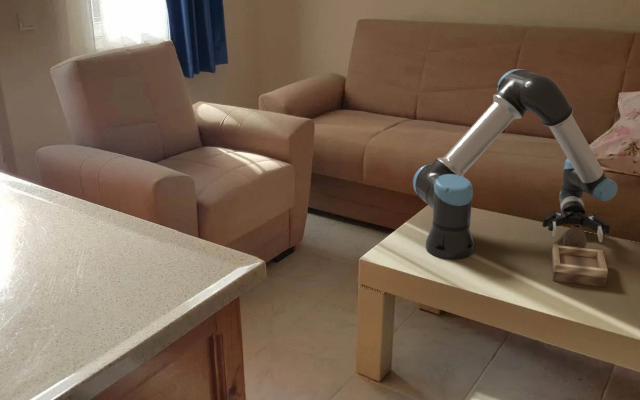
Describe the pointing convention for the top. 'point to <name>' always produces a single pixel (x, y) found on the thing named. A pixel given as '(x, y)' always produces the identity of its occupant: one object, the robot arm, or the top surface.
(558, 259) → the square wooden tray
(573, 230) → the vase
